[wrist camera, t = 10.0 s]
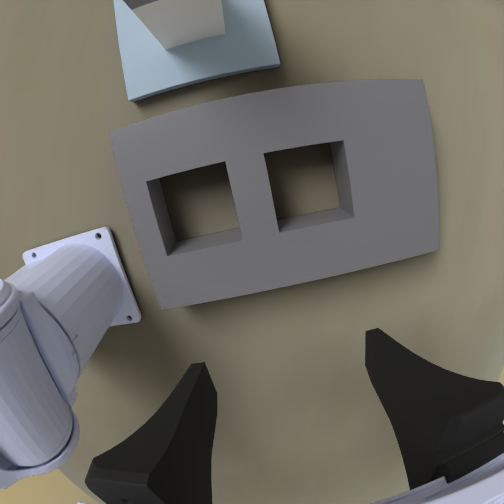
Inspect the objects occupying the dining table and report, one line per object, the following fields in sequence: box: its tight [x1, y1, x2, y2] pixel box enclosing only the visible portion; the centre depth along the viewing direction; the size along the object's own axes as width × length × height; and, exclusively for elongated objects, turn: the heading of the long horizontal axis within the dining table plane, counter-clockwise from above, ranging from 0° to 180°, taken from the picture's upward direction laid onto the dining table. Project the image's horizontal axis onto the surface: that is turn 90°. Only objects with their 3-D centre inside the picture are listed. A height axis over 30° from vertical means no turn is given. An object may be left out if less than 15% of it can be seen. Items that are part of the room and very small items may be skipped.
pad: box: [114, 0, 280, 102], centre depth 16 cm, size 10×10×1 cm
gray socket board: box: [109, 79, 439, 310], centre depth 19 cm, size 20×12×3 cm, turn 102°
